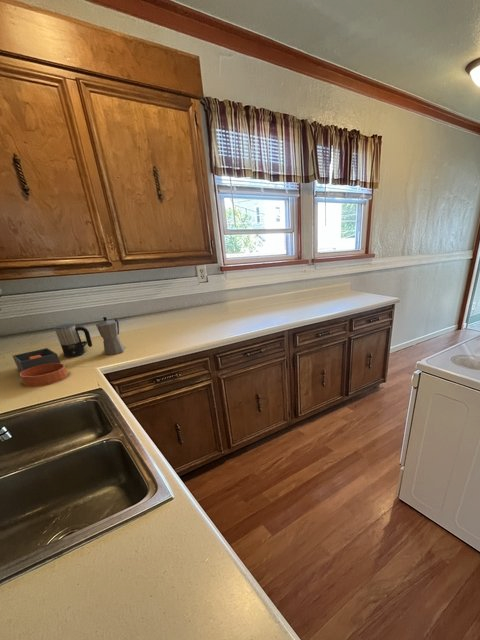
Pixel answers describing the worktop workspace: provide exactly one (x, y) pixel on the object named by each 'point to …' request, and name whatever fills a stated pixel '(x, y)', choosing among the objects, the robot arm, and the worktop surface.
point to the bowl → (44, 374)
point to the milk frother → (72, 339)
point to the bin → (35, 359)
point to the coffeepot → (110, 336)
